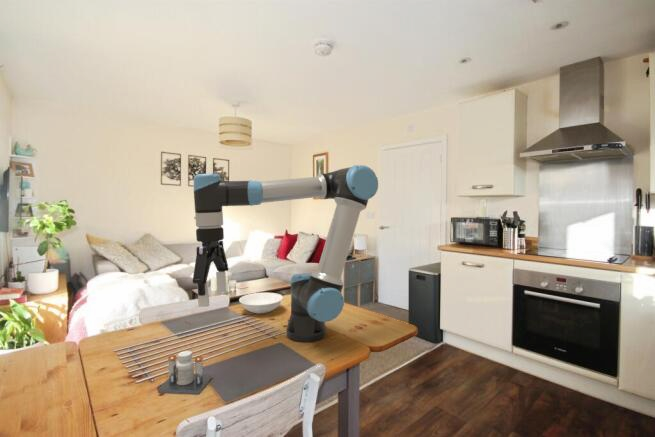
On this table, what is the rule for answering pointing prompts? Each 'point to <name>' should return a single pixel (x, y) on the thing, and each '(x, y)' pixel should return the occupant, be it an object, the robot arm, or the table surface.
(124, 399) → the table surface
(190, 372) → the pill bottle
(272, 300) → the bowl
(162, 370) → the table surface
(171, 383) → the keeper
